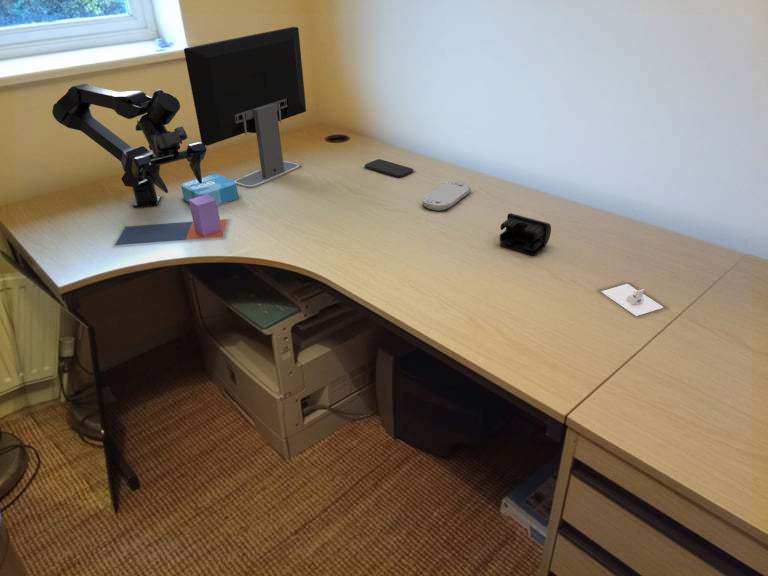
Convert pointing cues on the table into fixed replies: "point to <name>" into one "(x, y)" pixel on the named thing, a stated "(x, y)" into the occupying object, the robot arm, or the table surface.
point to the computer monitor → (249, 93)
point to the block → (205, 215)
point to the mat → (164, 233)
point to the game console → (446, 195)
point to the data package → (211, 188)
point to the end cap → (524, 234)
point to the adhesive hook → (632, 299)
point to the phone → (389, 168)
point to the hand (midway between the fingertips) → (184, 187)
